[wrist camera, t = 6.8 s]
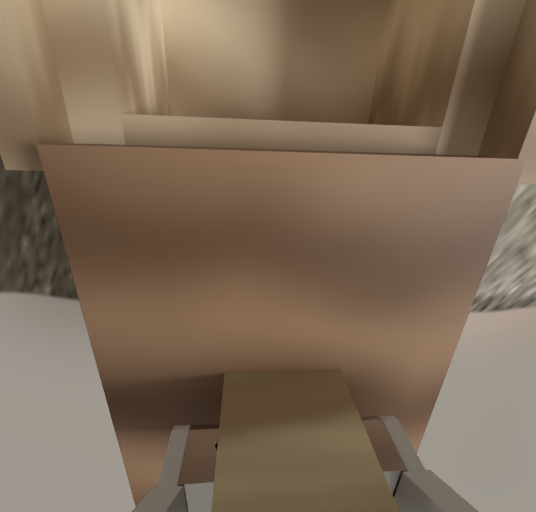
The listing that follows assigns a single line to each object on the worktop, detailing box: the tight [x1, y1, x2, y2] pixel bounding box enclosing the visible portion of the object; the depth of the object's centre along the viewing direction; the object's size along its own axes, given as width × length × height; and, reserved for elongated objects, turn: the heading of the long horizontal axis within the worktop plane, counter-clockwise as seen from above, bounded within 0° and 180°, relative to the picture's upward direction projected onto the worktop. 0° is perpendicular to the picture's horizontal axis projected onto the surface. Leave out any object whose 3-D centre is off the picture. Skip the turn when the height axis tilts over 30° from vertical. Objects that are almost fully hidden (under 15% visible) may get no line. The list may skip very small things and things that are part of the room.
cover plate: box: [36, 144, 526, 512], centre depth 9 cm, size 17×12×6 cm
